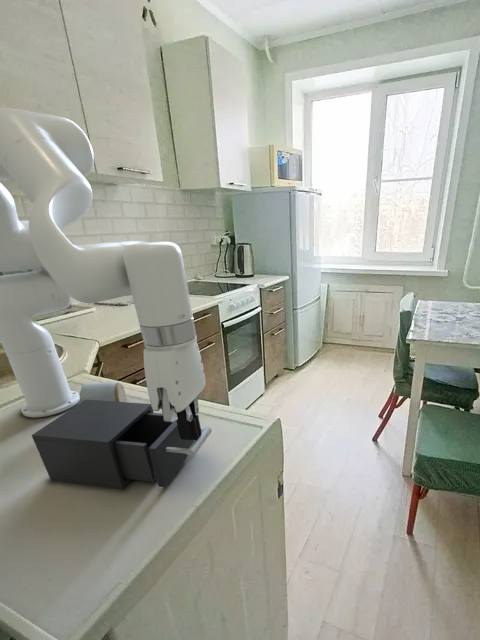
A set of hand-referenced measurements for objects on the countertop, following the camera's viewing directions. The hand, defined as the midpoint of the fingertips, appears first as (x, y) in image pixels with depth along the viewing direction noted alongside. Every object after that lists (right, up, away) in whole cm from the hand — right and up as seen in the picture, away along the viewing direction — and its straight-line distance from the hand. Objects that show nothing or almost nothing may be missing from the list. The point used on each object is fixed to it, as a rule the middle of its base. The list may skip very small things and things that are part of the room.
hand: (191, 437), depth 60 cm
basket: (-7, -5, +4) cm, 10 cm away
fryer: (-17, -6, +7) cm, 20 cm away
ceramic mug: (-27, +3, +26) cm, 38 cm away
